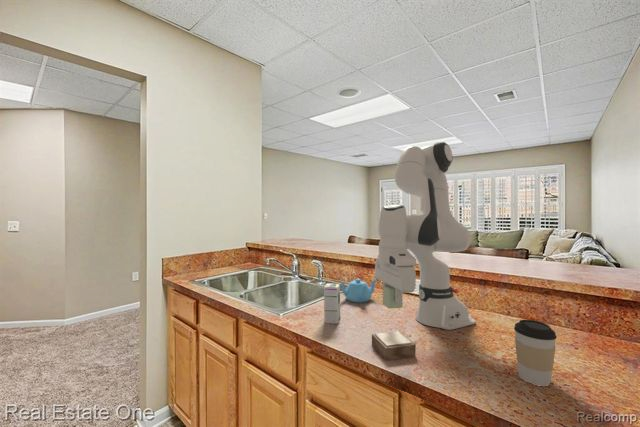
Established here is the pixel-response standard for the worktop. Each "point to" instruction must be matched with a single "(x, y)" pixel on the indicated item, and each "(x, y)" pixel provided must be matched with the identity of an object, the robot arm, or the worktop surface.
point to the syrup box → (332, 303)
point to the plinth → (393, 345)
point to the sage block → (390, 297)
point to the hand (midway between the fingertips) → (392, 299)
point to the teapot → (358, 291)
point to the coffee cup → (535, 351)
